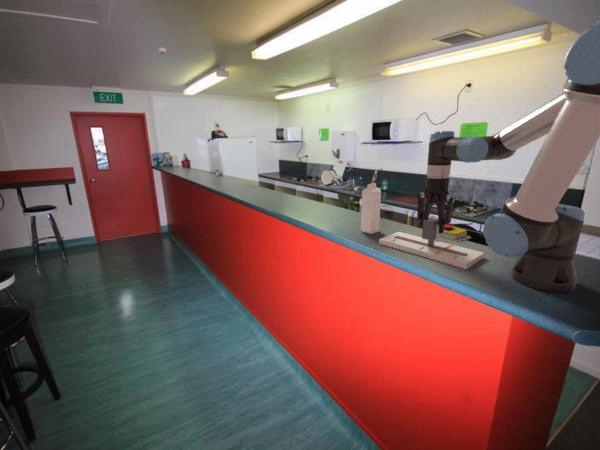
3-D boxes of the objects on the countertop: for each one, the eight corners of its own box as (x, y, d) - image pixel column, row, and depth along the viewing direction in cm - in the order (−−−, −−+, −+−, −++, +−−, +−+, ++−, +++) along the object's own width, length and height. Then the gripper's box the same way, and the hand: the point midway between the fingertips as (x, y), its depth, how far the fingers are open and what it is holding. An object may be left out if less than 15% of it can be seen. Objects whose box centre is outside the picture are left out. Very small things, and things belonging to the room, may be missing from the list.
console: (483, 257, 107) (484, 251, 106) (466, 269, 98) (467, 262, 97) (398, 236, 132) (398, 231, 131) (379, 243, 123) (379, 238, 123)
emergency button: (440, 221, 139) (473, 228, 126) (439, 230, 140) (472, 238, 128) (428, 224, 134) (460, 232, 122) (427, 233, 135) (459, 243, 123)
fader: (440, 243, 114) (443, 218, 111) (431, 248, 110) (434, 221, 107) (430, 241, 117) (433, 216, 114) (420, 245, 113) (423, 219, 110)
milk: (379, 231, 139) (382, 183, 133) (370, 234, 135) (373, 185, 129) (368, 228, 144) (371, 182, 137) (360, 231, 140) (362, 183, 134)
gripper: (467, 177, 102) (459, 242, 109) (420, 174, 115) (415, 232, 121) (458, 180, 98) (450, 247, 104) (409, 176, 110) (405, 236, 117)
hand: (431, 239), depth 113 cm, fingers closed on fader, 4 cm apart
